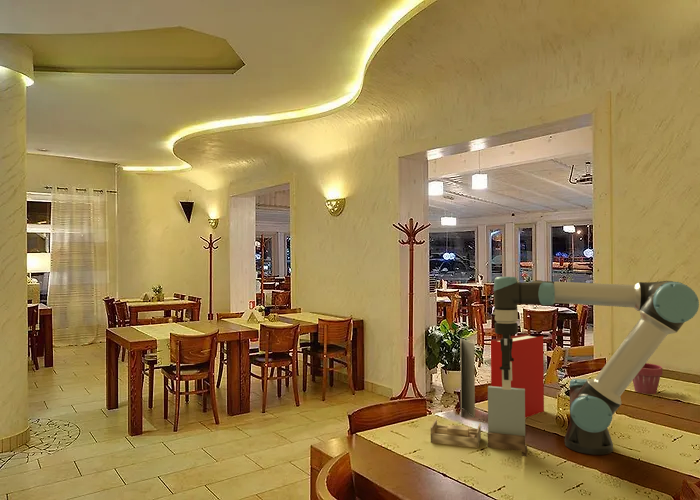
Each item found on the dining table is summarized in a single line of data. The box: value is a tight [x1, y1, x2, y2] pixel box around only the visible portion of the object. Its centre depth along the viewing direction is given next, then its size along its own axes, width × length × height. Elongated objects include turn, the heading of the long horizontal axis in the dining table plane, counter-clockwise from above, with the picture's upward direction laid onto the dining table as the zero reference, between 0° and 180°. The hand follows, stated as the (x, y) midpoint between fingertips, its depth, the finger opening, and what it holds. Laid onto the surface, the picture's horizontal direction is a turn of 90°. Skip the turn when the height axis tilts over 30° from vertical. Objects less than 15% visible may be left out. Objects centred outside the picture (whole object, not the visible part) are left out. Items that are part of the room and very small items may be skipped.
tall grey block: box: [459, 338, 476, 418], centre depth 220 cm, size 14×6×30 cm, turn 168°
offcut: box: [447, 424, 470, 437], centre depth 180 cm, size 7×4×2 cm, turn 71°
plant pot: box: [632, 362, 663, 395], centre depth 252 cm, size 14×14×13 cm
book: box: [490, 333, 545, 419], centre depth 215 cm, size 27×8×32 cm, turn 129°
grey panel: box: [487, 385, 526, 437], centre depth 176 cm, size 12×2×20 cm, turn 71°
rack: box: [430, 418, 482, 449], centre depth 182 cm, size 16×10×6 cm, turn 71°
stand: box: [487, 431, 528, 457], centre depth 176 cm, size 13×8×6 cm, turn 71°
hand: (507, 384), depth 176 cm, fingers open, 13 cm apart
